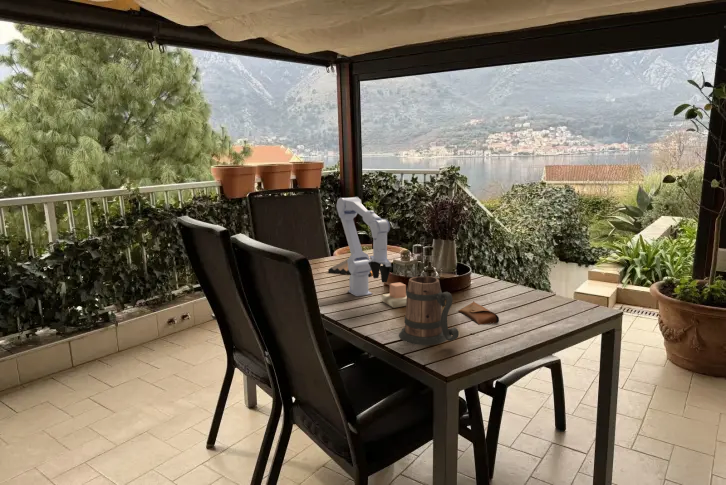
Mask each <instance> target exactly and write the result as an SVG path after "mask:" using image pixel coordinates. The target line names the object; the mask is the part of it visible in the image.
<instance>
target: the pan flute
mask: <svg viewBox="0 0 726 485" xmlns="http://www.w3.org/2000/svg"><path fill="white" fill-rule="evenodd" d="M347 260H348V259H346V260H344V261H341V262H340V263H337V264H336V265H334V266H331V267H329V269H327V270H328V271H327V272H328V273H329V274H339V273H340V274H342V275H350V274H351V273H350V272H349V270H348V261H347ZM346 273H347V274H346ZM368 277H373V274H372V270H371V271H370V274H368Z"/></svg>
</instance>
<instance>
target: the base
mask: <svg viewBox="0 0 726 485" xmlns="http://www.w3.org/2000/svg"><path fill="white" fill-rule="evenodd" d="M381 300H382V303H384V304H386V305H389V307H392V308H394V309H395V308H400V307H406V300H407V296H406V297H400V298H394V297H392V296H390V292H389V293H384V294H382V295H381Z"/></svg>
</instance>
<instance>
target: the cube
mask: <svg viewBox="0 0 726 485" xmlns="http://www.w3.org/2000/svg"><path fill="white" fill-rule="evenodd" d="M406 290H407V285H406V284H404V283H403V282H400V281H399V282H393V283H389V293H390V296H392V297H394V298H400V297H406Z"/></svg>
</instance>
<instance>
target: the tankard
mask: <svg viewBox="0 0 726 485" xmlns="http://www.w3.org/2000/svg"><path fill="white" fill-rule="evenodd" d="M407 284H408V285H407V287H406V296H407V300H406V306H405V316H404V327H403V328H402V330H401V331H400V332H399V333H398V338H399V339H400V340H401V341H403V342H406V343H408V344H412V345H419V346H432V345H433V346H434V345H439V344H442V343H445V342H446V341H448V342H451V341H455V340H457V339H458V338H459V334H460V333H459V330H458V329H457V327H451V328H449V327H448V315H449V311H450V309H451V307H452V305H453V301H454V299H453V296H452V293H450V292H448V291H444V292H442V288H441V284H440V279H439V278H437V277H435V276H413V277H411V278H409V279H408V283H407ZM441 306H442V307H444V308H443V309H442V308H441Z"/></svg>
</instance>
